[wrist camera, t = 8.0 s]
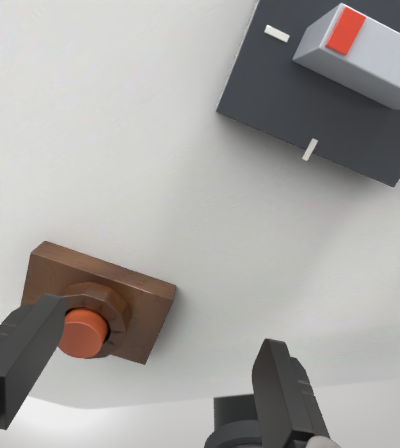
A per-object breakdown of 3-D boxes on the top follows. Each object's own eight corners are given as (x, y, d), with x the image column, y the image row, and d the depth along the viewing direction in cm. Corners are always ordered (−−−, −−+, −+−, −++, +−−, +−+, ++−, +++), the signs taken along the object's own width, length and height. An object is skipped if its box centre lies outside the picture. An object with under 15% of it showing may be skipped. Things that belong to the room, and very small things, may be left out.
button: (113, 315, 24) (106, 331, 22) (102, 346, 25) (95, 363, 23) (69, 301, 23) (59, 316, 22) (60, 334, 25) (50, 350, 23)
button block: (176, 285, 27) (171, 314, 23) (149, 347, 30) (141, 382, 26) (44, 240, 25) (16, 264, 22) (29, 310, 28) (3, 341, 25)
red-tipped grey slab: (412, 79, 17) (481, 72, 13) (393, 109, 18) (453, 112, 14) (307, 26, 16) (343, -1, 12) (291, 60, 17) (320, 47, 13)
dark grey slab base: (467, 24, 19) (515, 11, 16) (366, 184, 23) (389, 196, 20) (285, -72, 17) (301, -108, 14) (211, 118, 21) (212, 121, 18)
